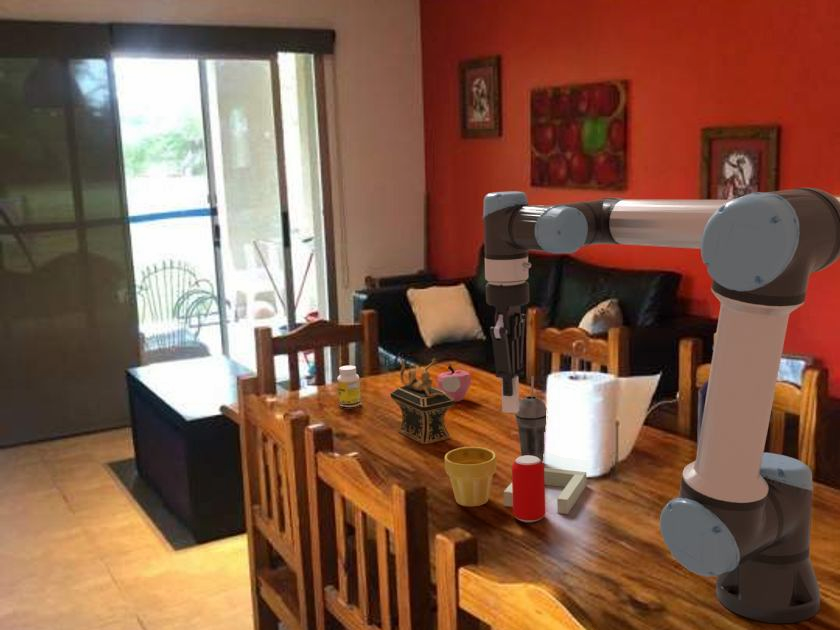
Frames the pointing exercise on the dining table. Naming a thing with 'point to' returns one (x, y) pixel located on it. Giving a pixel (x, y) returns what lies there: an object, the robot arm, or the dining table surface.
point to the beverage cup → (531, 425)
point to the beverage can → (528, 488)
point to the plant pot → (471, 474)
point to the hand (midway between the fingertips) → (510, 411)
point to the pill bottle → (348, 387)
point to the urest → (562, 478)
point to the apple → (454, 383)
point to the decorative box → (422, 407)
